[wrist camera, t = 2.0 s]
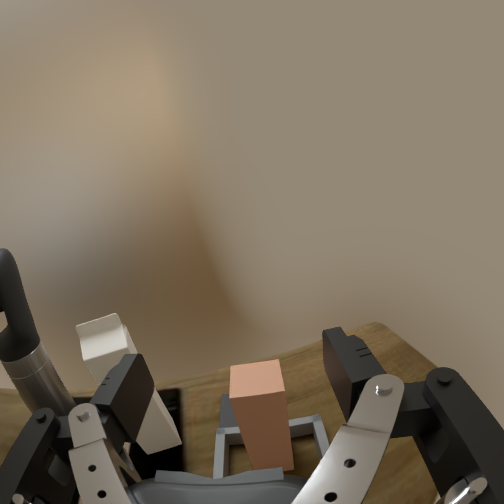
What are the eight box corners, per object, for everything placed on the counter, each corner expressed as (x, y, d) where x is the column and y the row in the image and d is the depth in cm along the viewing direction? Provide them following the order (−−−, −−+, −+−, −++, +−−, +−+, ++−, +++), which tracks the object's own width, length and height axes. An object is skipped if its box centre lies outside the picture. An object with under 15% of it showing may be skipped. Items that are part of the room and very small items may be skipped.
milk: (182, 444, 32) (117, 323, 26) (147, 455, 29) (70, 337, 23) (173, 419, 37) (118, 303, 31) (140, 429, 35) (77, 316, 29)
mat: (219, 434, 34) (218, 432, 33) (222, 396, 42) (221, 394, 42) (280, 428, 34) (279, 426, 33) (274, 390, 42) (273, 388, 42)
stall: (218, 500, 22) (212, 492, 21) (221, 439, 33) (216, 428, 32) (337, 485, 22) (338, 476, 21) (319, 426, 33) (319, 413, 32)
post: (255, 474, 26) (229, 398, 22) (253, 447, 31) (230, 365, 27) (294, 469, 26) (284, 390, 22) (289, 442, 31) (278, 359, 27)
